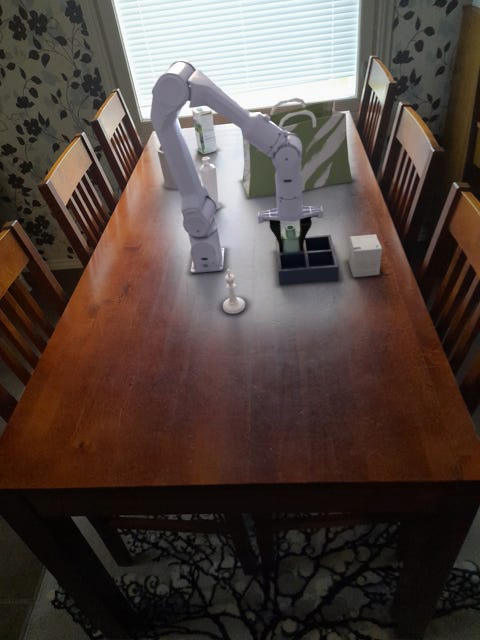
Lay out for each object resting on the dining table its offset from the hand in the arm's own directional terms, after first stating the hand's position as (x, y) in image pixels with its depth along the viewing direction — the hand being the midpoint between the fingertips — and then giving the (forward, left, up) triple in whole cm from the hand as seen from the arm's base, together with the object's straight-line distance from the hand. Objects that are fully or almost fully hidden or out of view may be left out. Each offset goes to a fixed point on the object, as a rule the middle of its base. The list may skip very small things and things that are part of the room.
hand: (291, 245), depth 108 cm
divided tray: (-3, -3, -4) cm, 6 cm away
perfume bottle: (+30, +21, -4) cm, 37 cm away
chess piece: (-16, +14, -4) cm, 22 cm away
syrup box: (+74, +26, -4) cm, 78 cm away
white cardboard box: (-6, -16, -4) cm, 18 cm away
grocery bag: (+42, -4, -4) cm, 42 cm away
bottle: (0, 0, -2) cm, 2 cm away
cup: (+49, +34, -4) cm, 60 cm away
